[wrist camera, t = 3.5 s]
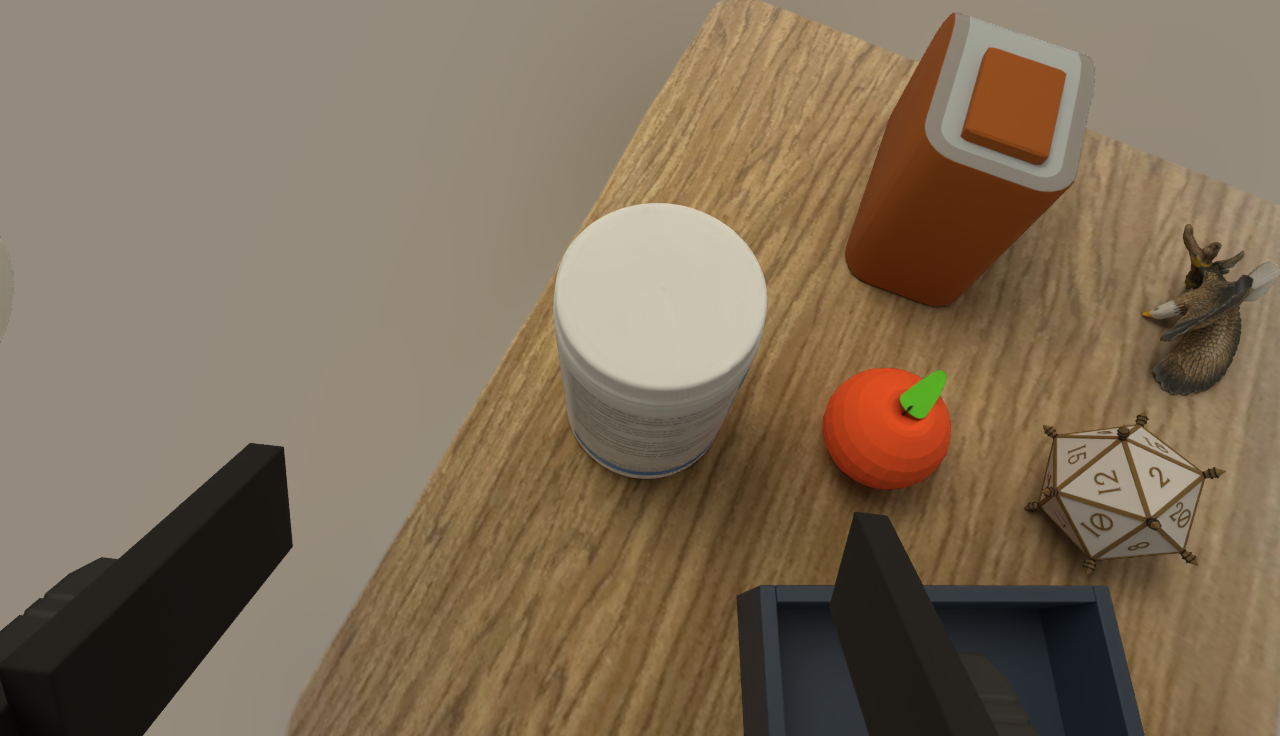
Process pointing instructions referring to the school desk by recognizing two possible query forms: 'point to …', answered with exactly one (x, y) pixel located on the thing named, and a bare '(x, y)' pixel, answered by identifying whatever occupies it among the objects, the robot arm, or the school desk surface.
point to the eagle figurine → (1207, 318)
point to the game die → (1121, 493)
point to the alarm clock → (969, 158)
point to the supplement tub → (655, 334)
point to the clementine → (888, 427)
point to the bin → (976, 623)
